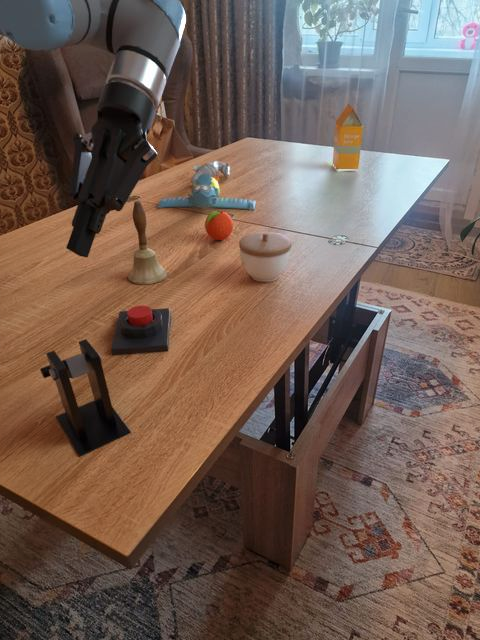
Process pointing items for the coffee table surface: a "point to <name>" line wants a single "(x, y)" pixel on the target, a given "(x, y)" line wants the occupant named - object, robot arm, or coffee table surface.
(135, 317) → the button
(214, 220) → the clementine
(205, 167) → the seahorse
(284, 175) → the coffee table surface
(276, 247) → the trinket box
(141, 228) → the hand bell
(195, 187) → the blue toy plane
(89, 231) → the robot arm
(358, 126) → the orange juice
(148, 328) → the control block
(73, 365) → the press lever
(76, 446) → the lever bracket
